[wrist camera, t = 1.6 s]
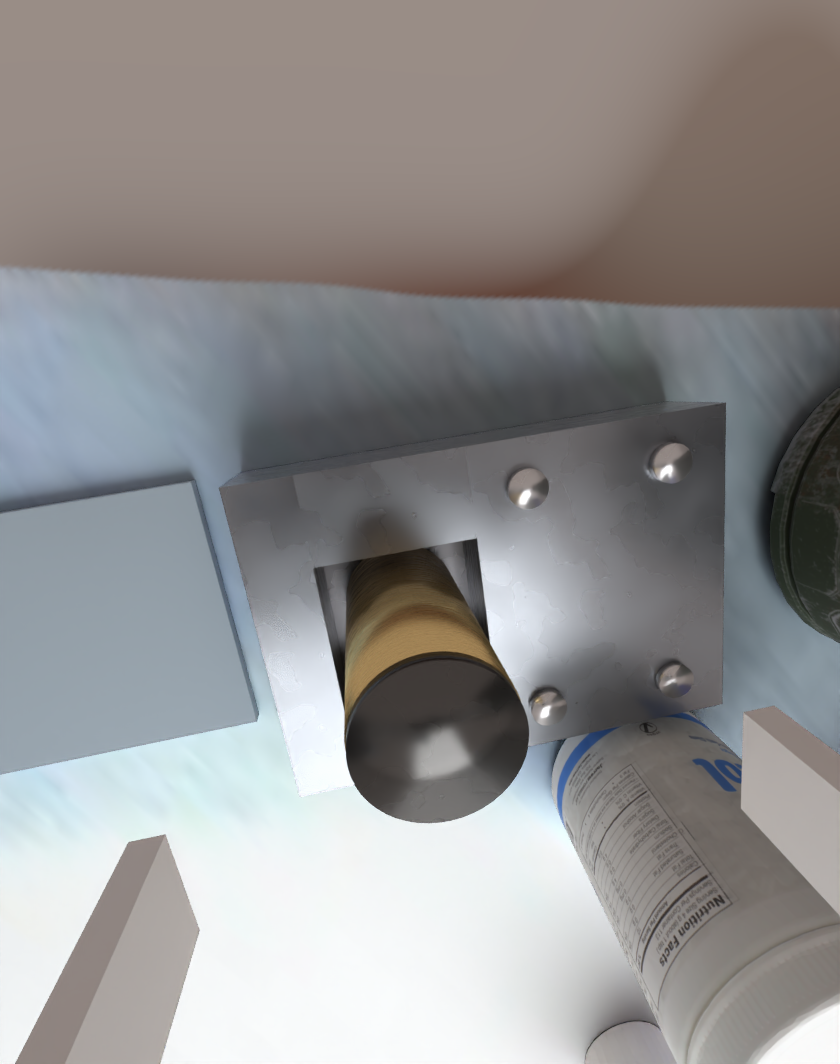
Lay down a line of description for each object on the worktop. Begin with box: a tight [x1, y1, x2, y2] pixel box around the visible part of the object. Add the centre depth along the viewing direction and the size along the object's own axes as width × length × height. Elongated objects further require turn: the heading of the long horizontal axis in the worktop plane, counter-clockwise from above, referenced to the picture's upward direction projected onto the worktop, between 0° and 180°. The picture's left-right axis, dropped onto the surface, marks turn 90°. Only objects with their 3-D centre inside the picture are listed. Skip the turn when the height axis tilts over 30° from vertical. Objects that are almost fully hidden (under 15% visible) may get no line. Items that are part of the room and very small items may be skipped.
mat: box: [0, 480, 259, 774], centre depth 23 cm, size 12×12×1 cm
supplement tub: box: [552, 711, 840, 1064], centre depth 23 cm, size 10×10×15 cm
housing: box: [219, 401, 726, 797], centre depth 23 cm, size 20×14×4 cm
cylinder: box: [344, 548, 529, 823], centre depth 19 cm, size 5×5×11 cm
